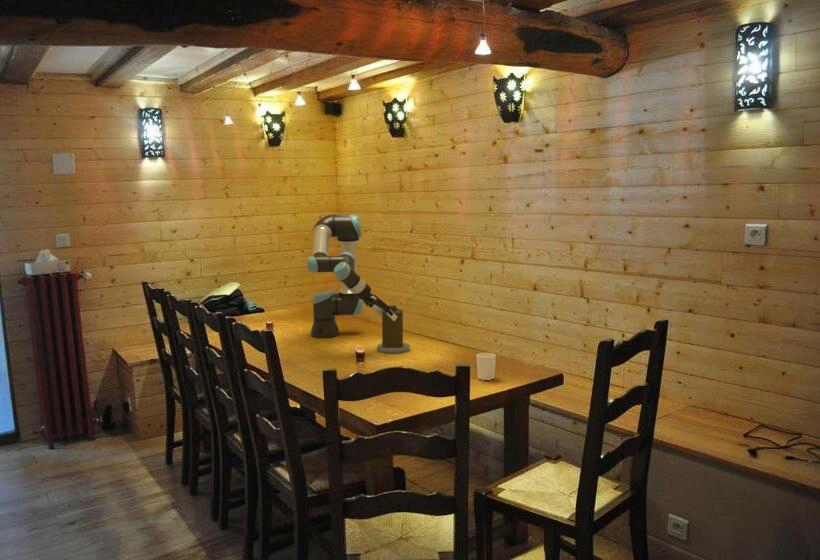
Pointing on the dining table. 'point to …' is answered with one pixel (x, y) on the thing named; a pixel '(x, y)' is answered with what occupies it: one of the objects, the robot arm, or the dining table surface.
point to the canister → (392, 329)
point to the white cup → (486, 365)
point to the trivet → (393, 349)
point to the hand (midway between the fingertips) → (388, 316)
